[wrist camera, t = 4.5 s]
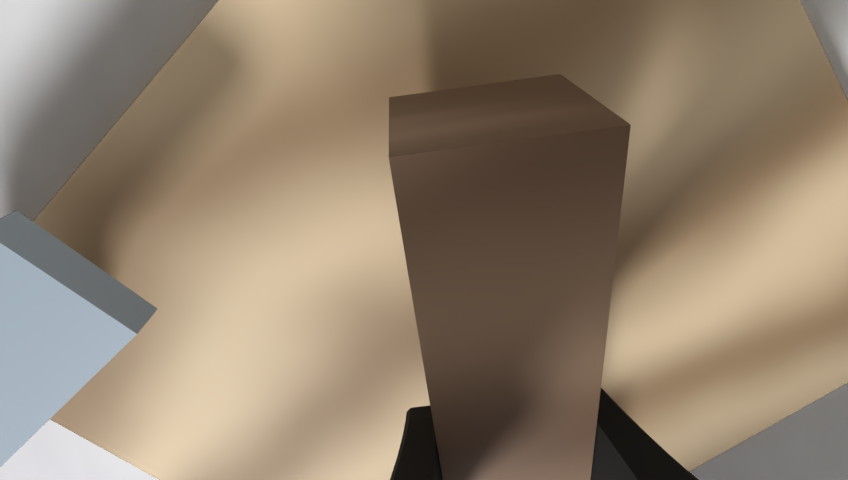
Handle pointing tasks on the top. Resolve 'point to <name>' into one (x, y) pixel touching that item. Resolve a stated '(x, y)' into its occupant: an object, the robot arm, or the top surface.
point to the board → (382, 240)
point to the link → (510, 267)
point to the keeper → (53, 326)
